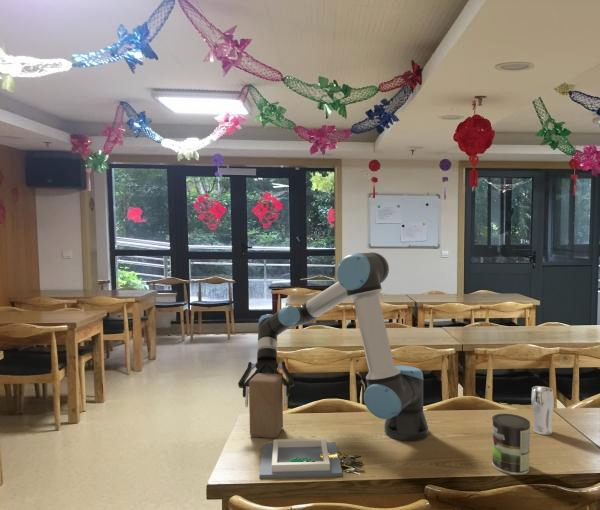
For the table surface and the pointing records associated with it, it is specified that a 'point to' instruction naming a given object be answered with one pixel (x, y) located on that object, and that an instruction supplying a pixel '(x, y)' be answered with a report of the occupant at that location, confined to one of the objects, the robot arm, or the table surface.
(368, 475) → the table surface
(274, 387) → the block
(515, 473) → the coffee can
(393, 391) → the robot arm
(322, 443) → the grey square frame tray
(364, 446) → the table surface
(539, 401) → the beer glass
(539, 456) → the table surface
